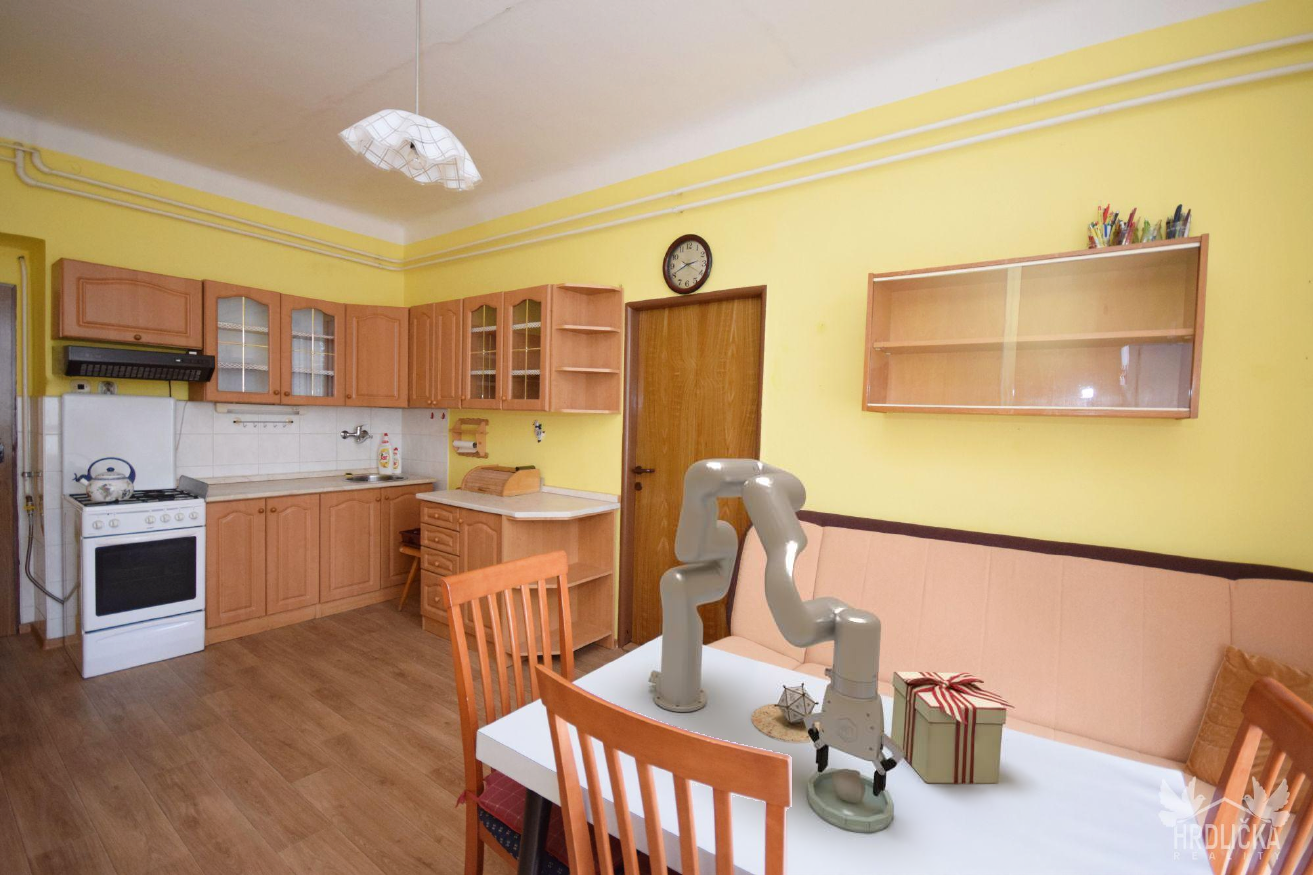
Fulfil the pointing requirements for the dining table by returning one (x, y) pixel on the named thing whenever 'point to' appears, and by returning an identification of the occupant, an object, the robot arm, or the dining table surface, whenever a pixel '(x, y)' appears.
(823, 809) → the plate
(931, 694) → the gift box
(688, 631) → the robot arm
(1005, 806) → the dining table surface
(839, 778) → the garlic
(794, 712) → the game die
